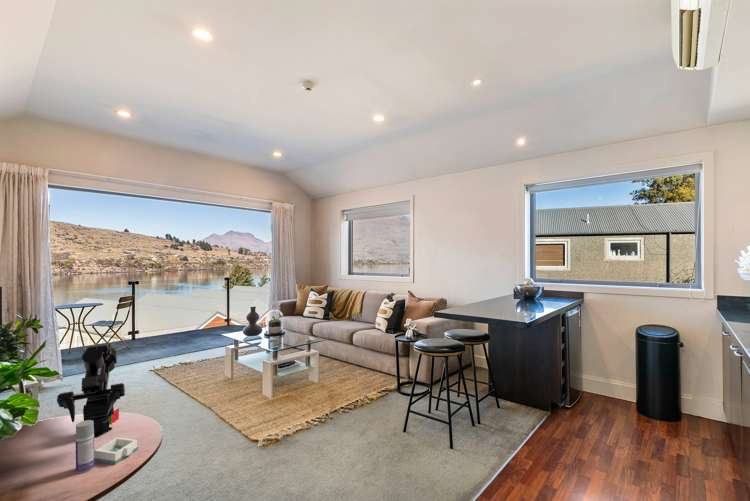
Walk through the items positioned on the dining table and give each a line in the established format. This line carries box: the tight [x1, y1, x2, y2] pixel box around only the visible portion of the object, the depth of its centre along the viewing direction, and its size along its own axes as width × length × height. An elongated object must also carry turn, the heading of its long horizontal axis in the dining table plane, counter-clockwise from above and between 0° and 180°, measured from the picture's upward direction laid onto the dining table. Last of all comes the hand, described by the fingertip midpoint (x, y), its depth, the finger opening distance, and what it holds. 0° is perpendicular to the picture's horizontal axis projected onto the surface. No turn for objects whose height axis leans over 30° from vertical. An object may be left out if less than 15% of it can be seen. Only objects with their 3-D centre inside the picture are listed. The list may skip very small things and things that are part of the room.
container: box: [75, 420, 95, 474], centre depth 117 cm, size 5×5×15 cm
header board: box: [94, 437, 139, 465], centre depth 124 cm, size 10×9×4 cm
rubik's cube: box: [109, 407, 120, 425], centre depth 149 cm, size 5×5×5 cm
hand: (90, 418), depth 123 cm, fingers open, 9 cm apart
